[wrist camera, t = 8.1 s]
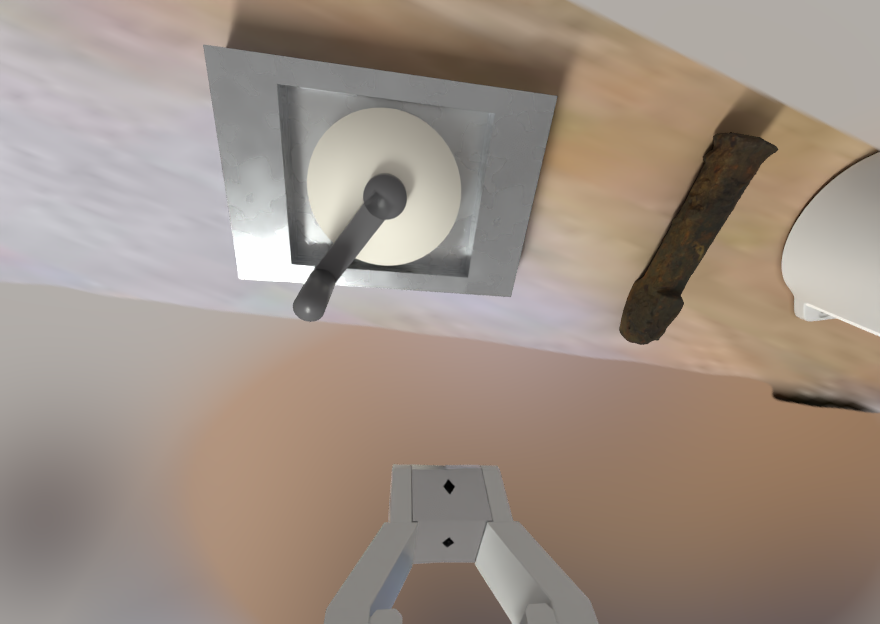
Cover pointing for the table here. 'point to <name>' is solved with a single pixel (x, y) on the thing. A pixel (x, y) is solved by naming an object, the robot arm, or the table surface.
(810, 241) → the robot arm
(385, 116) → the crank
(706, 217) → the hand tool
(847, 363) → the table surface
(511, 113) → the panel
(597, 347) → the table surface
